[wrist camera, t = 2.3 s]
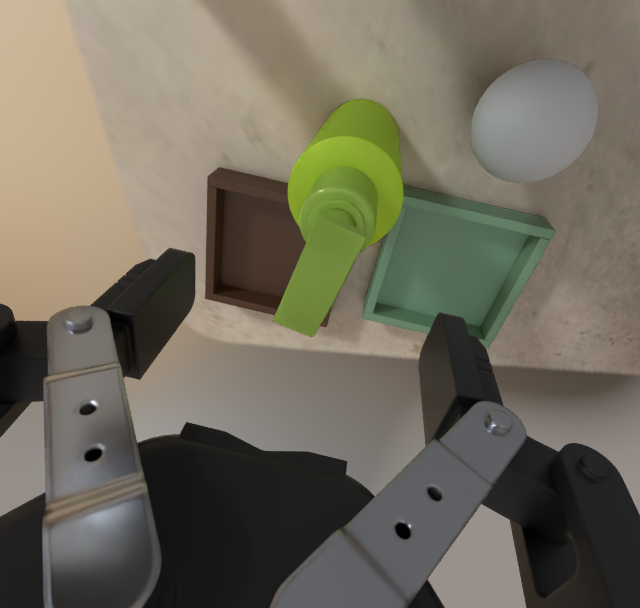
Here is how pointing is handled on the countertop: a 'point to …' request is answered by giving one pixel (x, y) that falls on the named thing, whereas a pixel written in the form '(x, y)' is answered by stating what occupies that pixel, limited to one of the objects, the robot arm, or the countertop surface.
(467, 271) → the green tray
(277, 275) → the walnut tray
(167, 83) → the countertop surface
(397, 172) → the soap dispenser
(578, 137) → the lightbulb
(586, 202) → the countertop surface
